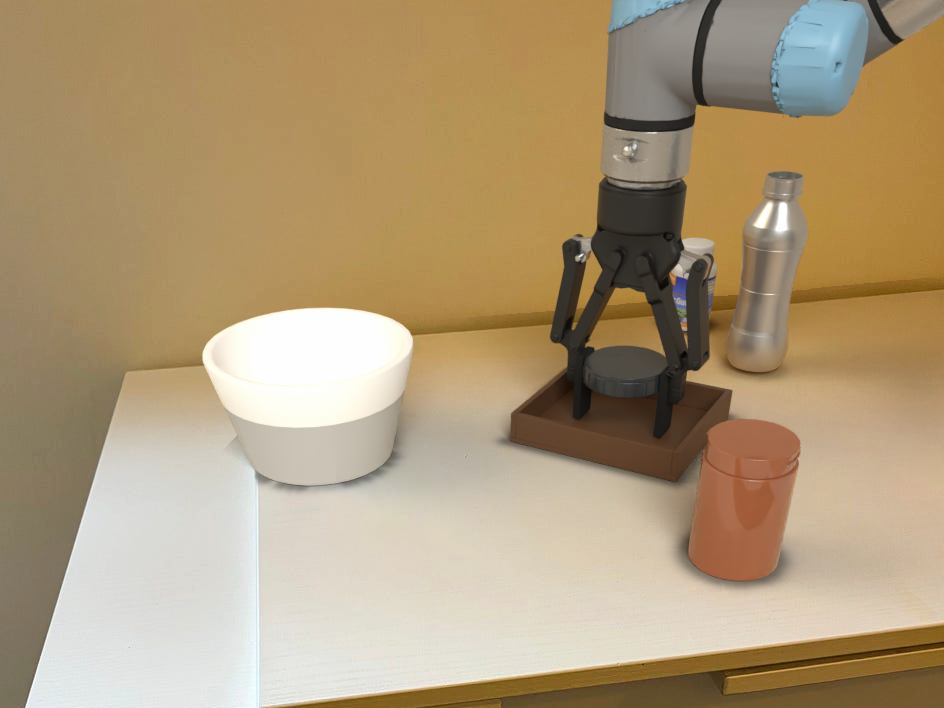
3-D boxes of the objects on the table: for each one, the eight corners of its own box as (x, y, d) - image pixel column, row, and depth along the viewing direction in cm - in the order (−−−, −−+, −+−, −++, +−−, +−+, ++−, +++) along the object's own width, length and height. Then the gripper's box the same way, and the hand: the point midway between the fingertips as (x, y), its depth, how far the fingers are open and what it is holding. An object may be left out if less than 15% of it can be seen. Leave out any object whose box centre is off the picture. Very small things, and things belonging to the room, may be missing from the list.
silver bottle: (774, 383, 107) (811, 186, 95) (714, 372, 110) (742, 179, 98) (790, 362, 112) (828, 171, 99) (732, 352, 115) (761, 164, 102)
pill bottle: (655, 322, 122) (663, 241, 116) (686, 313, 124) (696, 232, 118) (686, 336, 119) (697, 252, 112) (718, 325, 121) (730, 243, 115)
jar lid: (568, 387, 95) (569, 369, 94) (603, 357, 101) (604, 339, 100) (648, 405, 92) (650, 386, 91) (680, 373, 98) (682, 354, 96)
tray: (728, 417, 101) (732, 389, 99) (675, 482, 91) (679, 452, 89) (575, 384, 108) (576, 358, 106) (510, 441, 98) (510, 413, 96)
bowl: (185, 486, 92) (161, 376, 85) (271, 399, 106) (256, 299, 100) (381, 512, 88) (372, 398, 81) (443, 418, 102) (439, 315, 96)
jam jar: (788, 546, 82) (814, 429, 76) (762, 590, 77) (788, 470, 71) (704, 524, 85) (722, 410, 79) (675, 566, 80) (691, 447, 74)
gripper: (515, 174, 87) (511, 414, 101) (748, 203, 78) (708, 461, 93) (553, 155, 92) (544, 387, 106) (776, 181, 83) (734, 429, 98)
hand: (620, 421), depth 99 cm, fingers closed on jar lid, 8 cm apart
